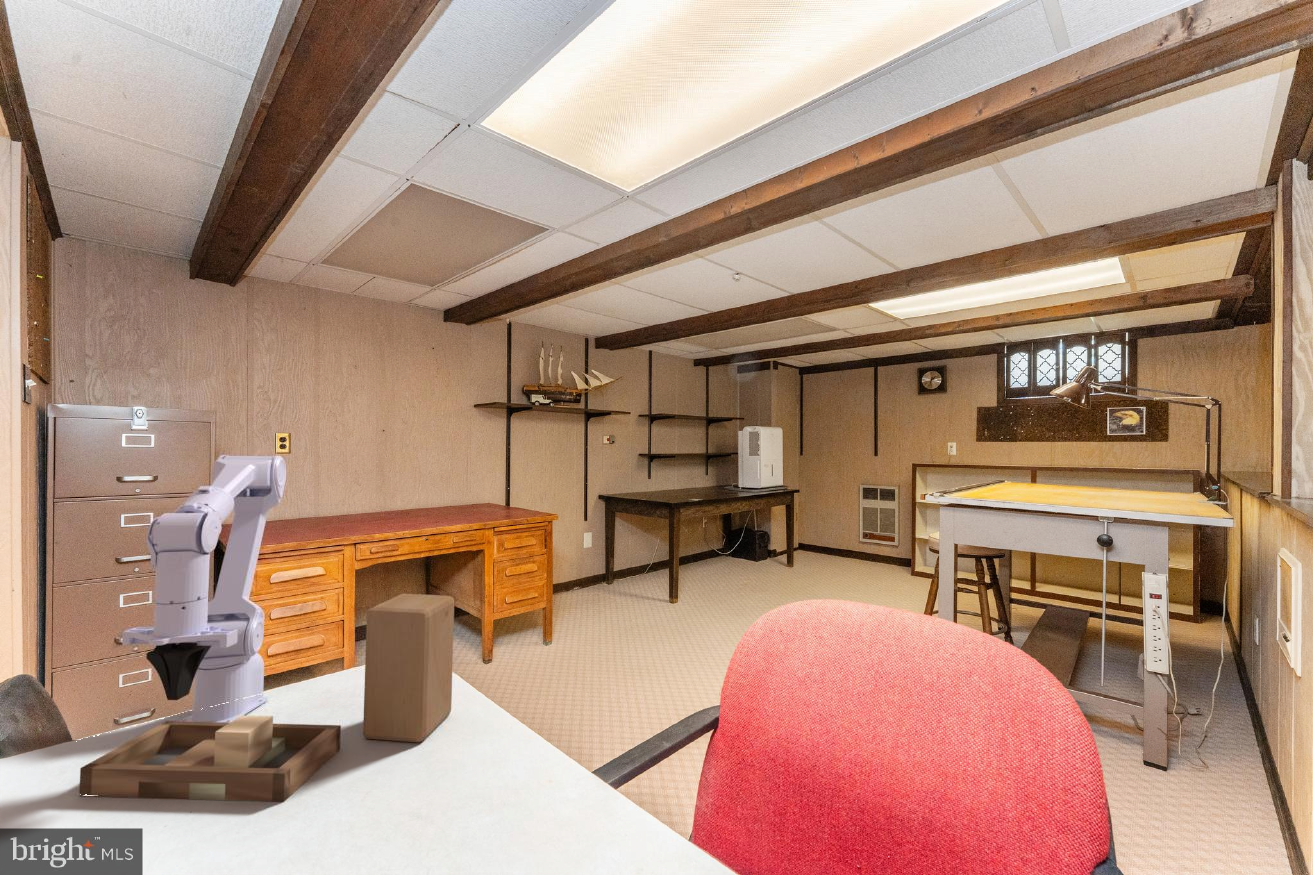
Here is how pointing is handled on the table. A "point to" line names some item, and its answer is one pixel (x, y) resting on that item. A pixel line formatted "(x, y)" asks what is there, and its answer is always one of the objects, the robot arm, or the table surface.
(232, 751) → the maple block
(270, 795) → the box
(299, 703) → the table surface
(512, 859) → the table surface
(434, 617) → the wooden block
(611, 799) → the table surface
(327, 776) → the table surface
